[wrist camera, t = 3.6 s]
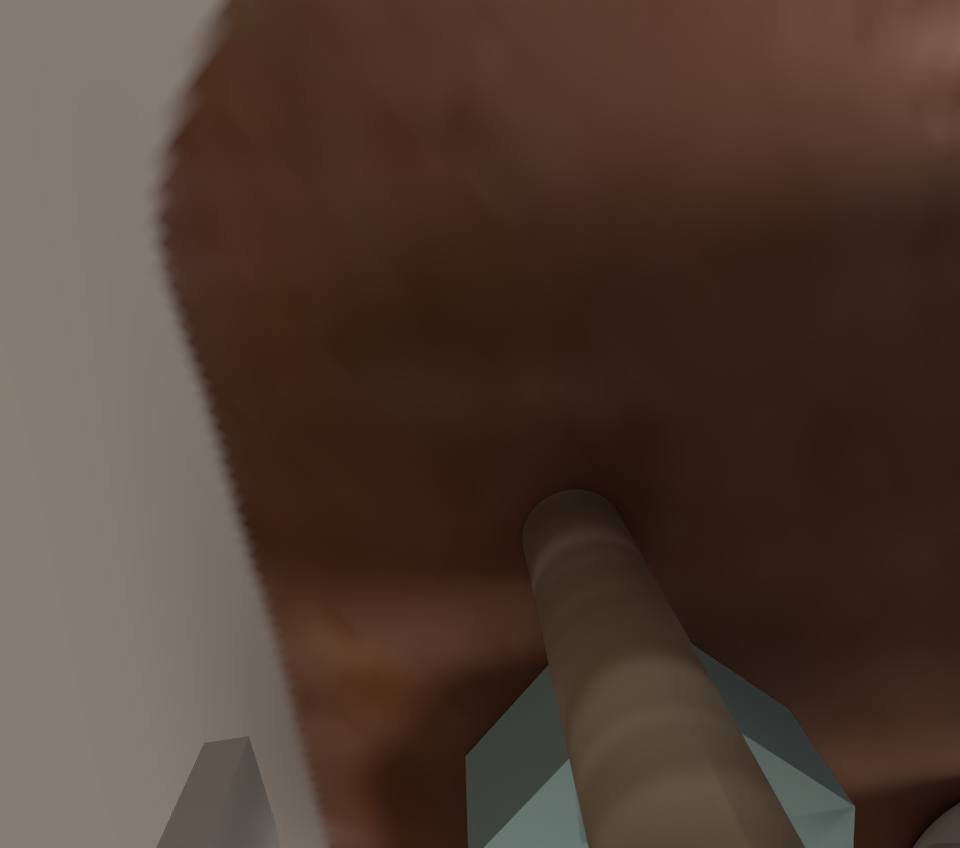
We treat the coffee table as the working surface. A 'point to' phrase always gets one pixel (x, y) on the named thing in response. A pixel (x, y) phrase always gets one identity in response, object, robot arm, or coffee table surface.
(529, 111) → the coffee table surface
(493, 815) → the grey-blue faceted ring
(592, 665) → the rod
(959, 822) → the mug
